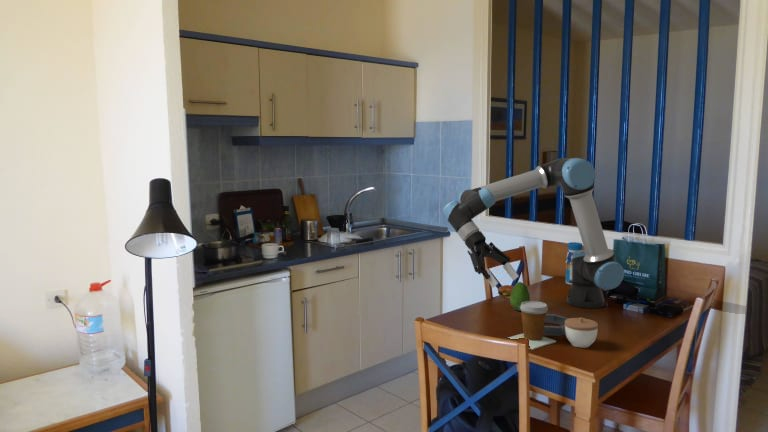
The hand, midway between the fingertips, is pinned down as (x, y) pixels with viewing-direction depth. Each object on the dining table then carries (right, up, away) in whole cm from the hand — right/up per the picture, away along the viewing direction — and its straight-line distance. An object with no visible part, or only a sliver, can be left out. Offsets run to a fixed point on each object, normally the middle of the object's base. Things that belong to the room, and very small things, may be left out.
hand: (506, 281), depth 199 cm
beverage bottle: (+49, -10, +73) cm, 88 cm away
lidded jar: (+23, -20, -11) cm, 32 cm away
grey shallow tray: (+17, -18, +6) cm, 26 cm away
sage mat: (+7, -20, -7) cm, 22 cm away
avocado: (+12, -15, +29) cm, 35 cm away
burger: (+12, -13, +51) cm, 54 cm away
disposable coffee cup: (+8, -19, -5) cm, 22 cm away
